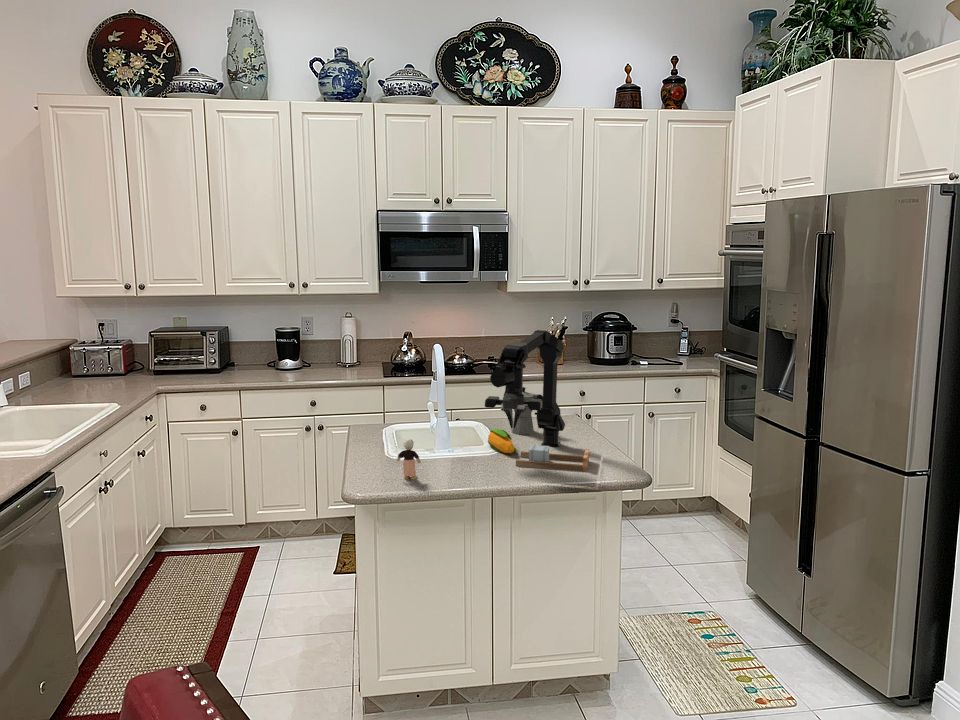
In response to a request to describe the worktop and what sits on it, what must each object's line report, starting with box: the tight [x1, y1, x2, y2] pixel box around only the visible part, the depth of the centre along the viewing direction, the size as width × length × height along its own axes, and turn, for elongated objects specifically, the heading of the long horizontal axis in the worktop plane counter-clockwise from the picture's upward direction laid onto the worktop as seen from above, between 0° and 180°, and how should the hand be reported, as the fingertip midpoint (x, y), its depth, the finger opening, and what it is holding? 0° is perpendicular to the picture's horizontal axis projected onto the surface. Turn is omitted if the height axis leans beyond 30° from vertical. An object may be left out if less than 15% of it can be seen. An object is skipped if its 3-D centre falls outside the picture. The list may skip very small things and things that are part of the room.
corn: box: [487, 428, 518, 455], centre depth 254 cm, size 7×8×20 cm
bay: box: [515, 448, 590, 472], centre depth 239 cm, size 11×23×5 cm, turn 78°
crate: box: [528, 444, 550, 462], centre depth 240 cm, size 6×6×5 cm
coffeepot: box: [511, 386, 543, 436], centre depth 281 cm, size 15×9×18 cm, turn 70°
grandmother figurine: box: [396, 438, 421, 481], centre depth 224 cm, size 8×4×13 cm, turn 92°
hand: (513, 428), depth 240 cm, fingers closed
